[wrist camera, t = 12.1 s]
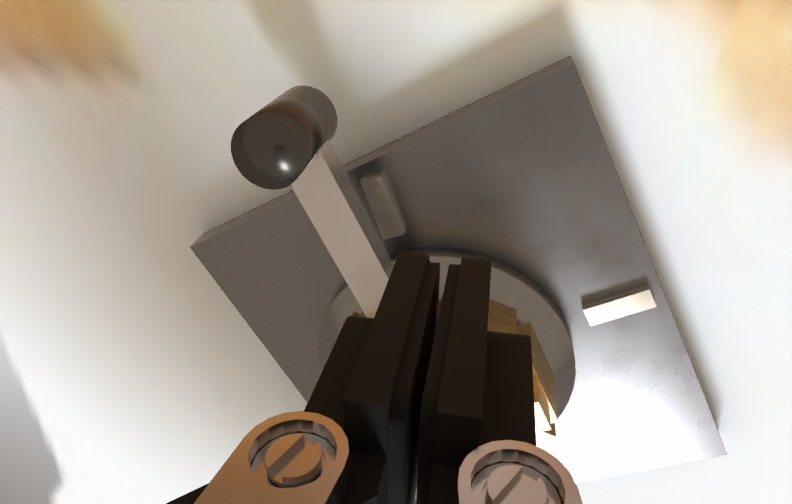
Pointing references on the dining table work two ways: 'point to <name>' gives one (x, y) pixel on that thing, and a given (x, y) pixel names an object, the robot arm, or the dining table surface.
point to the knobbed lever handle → (351, 215)
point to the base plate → (499, 268)
